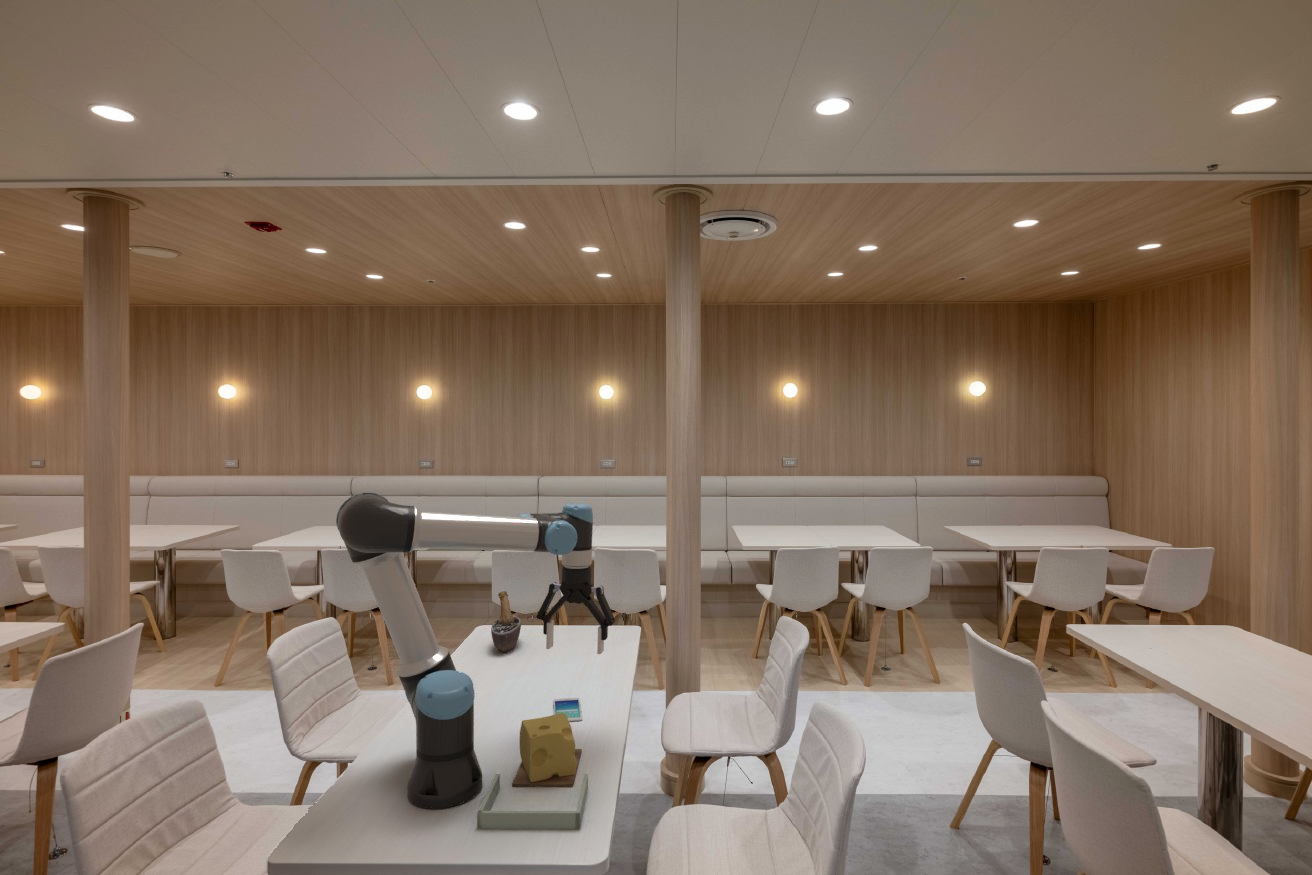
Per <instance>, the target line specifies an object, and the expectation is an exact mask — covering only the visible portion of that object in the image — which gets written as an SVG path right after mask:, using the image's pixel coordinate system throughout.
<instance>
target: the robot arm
mask: <svg viewBox="0 0 1312 875" xmlns="http://www.w3.org/2000/svg"><path fill="white" fill-rule="evenodd" d="M561 511H562V512H554V513H551V512H550V513H549V512H548V513H547V512H546V513H545V512H544V513H531V512H529V513H523V514H519V515H517V516H506V515H505V516H503V515H488V514H485V515H484V514H468V513H453V512H452V513H451V512H435V511H434V512H433V511H423V510H422V511H421V510H419V508H418V507H417V506H415V505H404V504H399V503H398V504H397V503H395V502H390V501H389V500H388V499H387V498H386V497H384V496H383V495H381V494H380V493H379V494H378V493H376V492H370V491H369V492H368V491H367V492H361V493H356V494H355V495H353V496H351V497H349V498H347V499H346V500H345V501H344V502H343V503H342V504H341V505H340V507H339V509H338V512H337V514H336V524H335V525H336V527H337V530H338V532H339V536H340V538H341V539H342V541H343V543H344V546H345V547H346V550H347V552H348V555H349V557H350V560H351V563H352V564H354V565H357V566H360V567H361V568H362V569H363V571H364V573H365V576H366V578H367V581H368V584H369V586H370V589H371V591H372V594H373V596H374V599H375V600H376V603H377V606H378V609H379V611H380V613H381V614H380V615H381V616H382V619H383V620H384V623H385V627H386V628H387V630H388V633H389V636H390V638H391V641H392V643H393V647H394V648H395V650H396V654H397V656H398V657H399V660H400V662H401V664H400V666H399V667H398V669H397V674H398V675H397V676H398V678H399V680H400V683H401V685H402V687H403V690H404V694H405V697H406V699H407V702H408V703H409V705H410V708H411V711H412V714H413V716H414V719H415V726H416V730H415V733H416V736H415V738H416V740H415V744H416V745H415V746H416V753H415V754H416V758H415V759H414V764H413V766H412V770H411V773H410V776H409V779H408V782H407V799H408V801H409V802H410V803H411V804H412V805H414V806H416V807H418V808H423V809H428V810H429V809H430V810H432V809H433V810H434V809H437V810H438V809H446V808H452V807H456V806H458V805H461V804H464V803H466V802H468V801H471V799H474V798H475V797H476V796H477V795H478V794H480V792H481V790H482V788H483V772H482V768H481V765H480V762H479V760H478V757H477V755H476V752H475V744H474V742H475V738H474V737H475V730H474V729H475V728H474V727H475V724H474V723H475V722H474V721H475V718H474V717H475V712H474V710H475V698H476V697H475V688H474V682H473V680H472V678H471V677H470V676H469V675H468V674H466V673H464V672H463V671H462V672H461V671H458V670H457V669H456V667H455V664H454V661H453V659H452V656H451V654H450V651H449V648H447V647H445V646H442V645H440V644H439V642H438V640H437V638H436V634H435V632H434V630H433V627H432V624H431V622H430V620H429V617H428V614H427V612H426V610H425V607H424V604H423V602H422V599H421V597H420V595H419V594H420V593H419V592H418V589H417V587H416V585H415V584H416V583H415V582H414V579H413V576H412V574H411V572H410V568H409V567H408V563H407V561H406V558H405V556H404V554H403V553H412V552H413V551H414V550H416V549H448V550H449V549H450V550H475V551H476V550H478V551H479V550H481V551H483V550H484V551H510V552H511V551H512V552H513V551H514V552H534V553H535V552H536V553H537V552H538V553H550V554H553V555H556V556H557V555H558V556H561V564H562V565H563V566H562V567H561V580H560V581H561V582H560V583H557V582H556V581H554V582H551V584H549V586H548V592H547V594H546V596H545V598H544V600H543V602H542V604H541V606H540V608H539V610H538V612H537V614H536V619H537V620H541V621H542V622H543V629H542V630H543V632H542V633H543V635H545V636H546V642H545V644H546V645H545V646H546V648H545V649H546V650H550V649H551V648H553V646H554V630H555V629H554V628H555V626H554V624H555V622H554V620H552V619H553V617H554V616H555V615H556V614H557V612H558V611H560V609H561V608H562V607H563V606H564V605H565V603H566V602H568V604H577V605H578V604H579V605H580V604H583V605H584V606H585V607H587V610H589V612H590V613H591V615H592V616H593V617H594V619H595V621H597V623H598V625H599V626H598V627H597V652H596V654H597V655H601V654H602V653H603V652H604V651H605V649H604V648H605V646H604V645H605V642H604V641H606V640H608V635H609V627H611V626H613V625H614V624H615V623H616V619H615V617H614V614H613V612H612V609H611V608H610V604H609V603H608V601H607V598H606V596H605V592H604V591H605V589H604V588H605V587H604V586H603V585H599V586H593V585H592V574H593V572H592V571H593V569H592V566H591V565H593V564H592V561H593V558H592V557H593V546H592V545H593V529H594V528H593V527H594V526H593V524H594V516H593V507H591V505H589V504H585V503H566V504H564V505H563V506H562V510H561ZM559 591H560V592H561V594H562V595H561V597H560V598H559V599H558V601H557V602H556V603H555V605H554V606H552V608H551V609H550V610H549V611H548V609H549V607H550V605H551V604H552V601H553V599H554V597H555V596H556V593H558V592H559ZM592 593H593V594H594V596H595V597H596V600H597V602H598V604H599V607H600V609H601V610H600V609H599V607H598V606H597V604H596V602H595V601H594V599H593V598H592V597H591V594H592ZM546 613H547V614H546Z"/></svg>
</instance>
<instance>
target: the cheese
mask: <svg viewBox="0 0 1312 875" xmlns="http://www.w3.org/2000/svg"><path fill="white" fill-rule="evenodd" d="M575 749H576V741H575V738H574V735H573V730H572V725H571V722H569V721H568V718H567V716H566V715H565V714H564V713H559V714H555V715H554V714H551V715H547V716H543V717H538V718H536V717H535V718H532V719H530V718H529V719H524V720H521V725H520V729H519V755H520V758H521V762H522V763H523V766H524V768H525V770H526V772H527V774H528V776H529V779H530V782H536V781H541V780H545V779H549V778H551V777H552V776H553V775H558V776H559V777H562V776H569V775H575V773H576V774H577V772H576V759H575V754H574V753H575Z"/></svg>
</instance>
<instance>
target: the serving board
mask: <svg viewBox="0 0 1312 875" xmlns="http://www.w3.org/2000/svg"><path fill="white" fill-rule="evenodd" d="M582 752H583V750H582V748H575V753H574V754H575V759H576V773H575V775H569V776H562V777H559V776H558V775H553V776H552V777H551V778H549V779H545V780H541V781H536V782H530V779H529V776H528V774H527V772H526V770H525V768H524V766H523V763H522V761H521V762H520V764H519V767H518V770H517V771H516V773H515V777H514V778H513V781H512V783H511V787H513V788H514V787H515V788H516V787H519V788H521V787H523V788H526V787H527V788H528V787H530V788H531V787H533V788H534V787H536V788H541V787H543V788H545V787H547V788H550V787H552V788H553V787H554V788H555V787H557V788H559V787H560V788H562V787H563V788H565V787H566V788H569V787H570V788H573V787H574V784H575V780H576V776H577V772H578V768H579V765H580V764H579V763H580V760H581V755H582Z"/></svg>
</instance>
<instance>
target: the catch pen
mask: <svg viewBox="0 0 1312 875" xmlns="http://www.w3.org/2000/svg"><path fill="white" fill-rule="evenodd" d="M500 776H501V774H500V773H495V775H494V778H493V780H491V781H492V782H491V783H490V786H489V787H488V790H487V792H486V794H485V796H484V798H483V800H482V802H481V804H480V806H479V809H478V811H477V813H476V818H477V820H476V824H477V826H476V828H477V829H479V830H480V829H481V830H483V829H484V830H485V829H486V830H487V829H491V830H492V829H493V830H494V829H500V830H501V829H502V830H503V829H504V830H505V829H506V830H507V829H508V830H509V829H511V830H514V829H516V830H517V829H518V830H519V829H520V830H522V829H523V830H525V829H526V830H529V829H530V830H531V829H532V830H533V829H535V830H538V829H540V830H541V829H542V830H543V829H544V830H546V829H547V830H549V829H550V830H551V829H552V830H559V829H562V830H564V829H565V830H580V829H581V824H582V820H583V814H584V810H585V805H586V800H587V795H588V792H589V791H588V790H589V773H584V774H583V779H582V783H581V787H580V792H579V796H578V801H577V804H576V805H577V806H576V810H491V808H492V807H493V804H494V802H495V800H496V797H497V795H498V793H499V790H500V788H501V777H500Z"/></svg>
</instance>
